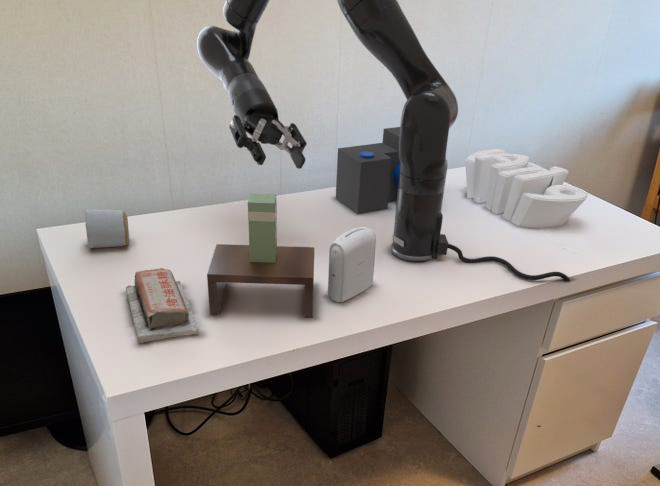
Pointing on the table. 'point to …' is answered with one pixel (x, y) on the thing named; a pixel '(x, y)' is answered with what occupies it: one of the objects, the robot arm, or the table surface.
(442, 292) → the table surface
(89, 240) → the ceramic mug
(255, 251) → the box
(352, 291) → the photo printer
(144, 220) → the table surface
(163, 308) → the packaged product
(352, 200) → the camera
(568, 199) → the white letter sculpture
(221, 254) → the shelf stand
